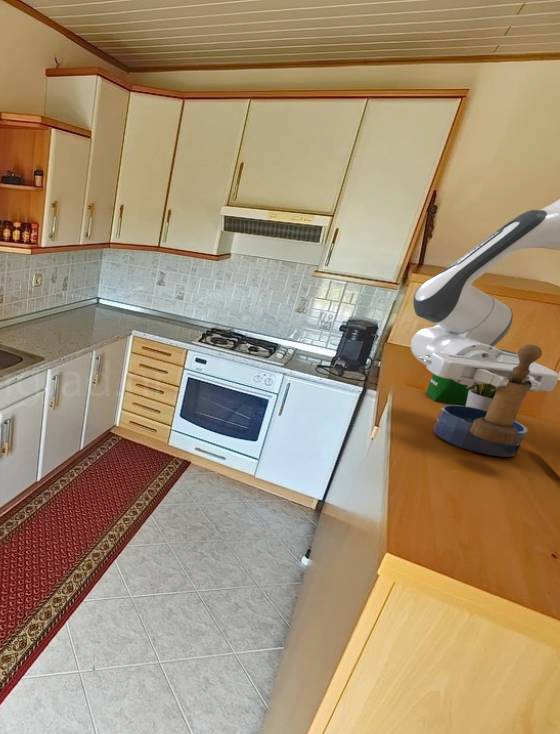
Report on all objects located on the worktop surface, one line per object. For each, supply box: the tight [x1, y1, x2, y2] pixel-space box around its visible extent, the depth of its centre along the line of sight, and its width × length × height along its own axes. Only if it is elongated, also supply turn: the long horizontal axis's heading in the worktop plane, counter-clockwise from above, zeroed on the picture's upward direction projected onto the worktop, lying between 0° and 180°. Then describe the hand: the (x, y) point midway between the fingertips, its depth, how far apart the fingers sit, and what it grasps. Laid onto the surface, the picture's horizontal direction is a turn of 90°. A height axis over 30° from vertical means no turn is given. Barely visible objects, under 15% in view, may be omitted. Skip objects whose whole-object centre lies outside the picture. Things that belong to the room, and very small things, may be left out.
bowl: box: [432, 404, 529, 458], centre depth 105 cm, size 14×14×6 cm
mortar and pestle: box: [470, 344, 543, 444], centre depth 89 cm, size 7×6×18 cm
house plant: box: [466, 384, 498, 411], centre depth 118 cm, size 14×14×16 cm
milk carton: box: [425, 373, 476, 406], centre depth 129 cm, size 9×9×20 cm
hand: (519, 385), depth 87 cm, fingers closed on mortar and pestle, 4 cm apart
